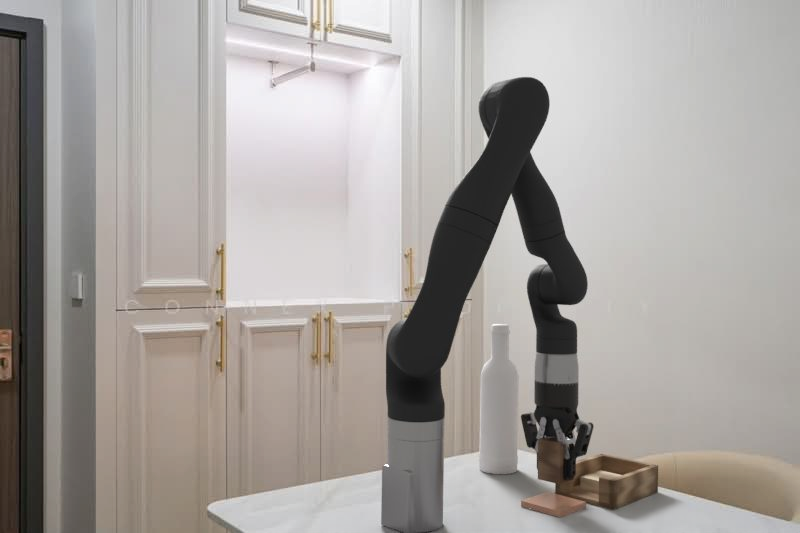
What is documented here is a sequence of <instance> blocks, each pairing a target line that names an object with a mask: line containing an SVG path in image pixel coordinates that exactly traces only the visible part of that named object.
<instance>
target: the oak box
mask: <svg viewBox="0 0 800 533" xmlns="http://www.w3.org/2000/svg"><path fill="white" fill-rule="evenodd" d="M554 484H555V485H554V486H555V487H554V488H555V489H554V490H555V491H554V492H555V493H554V494H558V495H562V496H565V497H569V498H573V499H577V500H581V501H585V502H586V504H590V505H592V506H593V505H594V506H598V507H602V508H604V509H609V510H613V511H615V510H617V509H619V508H623V507H625V506H627V505H630V504H632V503H635V502H638V501H639V500H642V499H645V498H647V497H649V496H651V495H655V494H656V493H658V492H659V465H658V464H657V465H656V464H652V463H647V462H644V461H643V462H642V461H638V460H633V459H629V458H623V457H619V456H614V455H610V454H609V455H608V454H603V453H599V454H596V455H593V456H590V457H586V458H582V459H579V460H576V475H575V477H574V480H571V481H568V482H565V483H562V484H556V483H554Z"/></svg>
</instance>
